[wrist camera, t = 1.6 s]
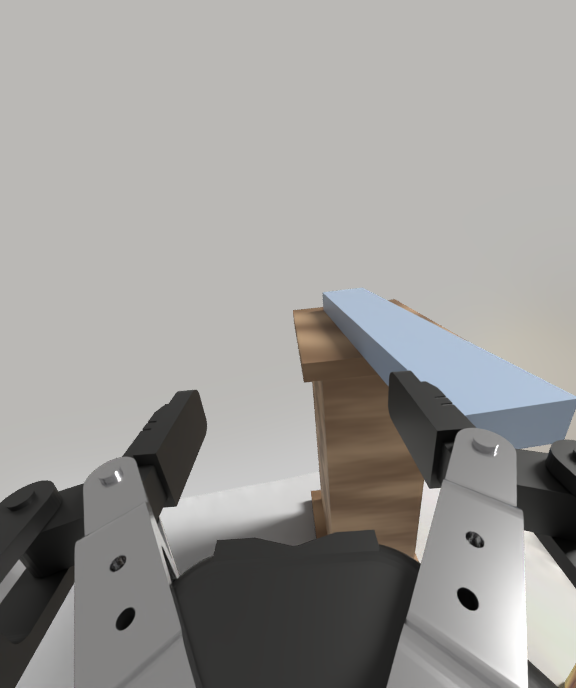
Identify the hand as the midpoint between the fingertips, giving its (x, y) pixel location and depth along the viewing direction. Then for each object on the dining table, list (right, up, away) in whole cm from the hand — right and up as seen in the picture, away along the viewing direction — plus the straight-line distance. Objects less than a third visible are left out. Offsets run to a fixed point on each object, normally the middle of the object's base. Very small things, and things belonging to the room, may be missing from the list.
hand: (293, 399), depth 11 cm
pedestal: (+10, -25, +26) cm, 37 cm away
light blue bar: (+7, +2, +9) cm, 12 cm away
